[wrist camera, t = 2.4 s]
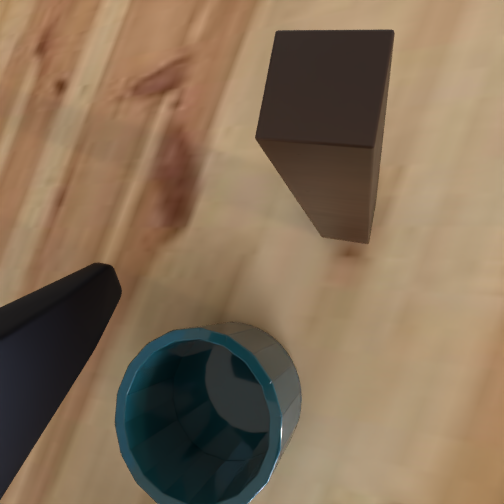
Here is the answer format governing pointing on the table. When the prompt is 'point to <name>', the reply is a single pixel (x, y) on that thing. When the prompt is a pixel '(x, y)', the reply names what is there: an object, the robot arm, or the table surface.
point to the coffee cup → (207, 413)
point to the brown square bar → (328, 123)
